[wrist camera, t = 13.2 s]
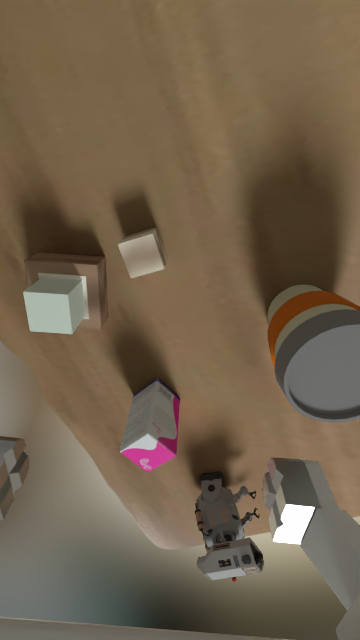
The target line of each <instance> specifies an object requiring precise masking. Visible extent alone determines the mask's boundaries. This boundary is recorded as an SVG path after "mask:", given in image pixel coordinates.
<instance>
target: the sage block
mask: <svg viewBox="0 0 360 640" xmlns="http://www.w3.org/2000/svg"><path fill="white" fill-rule="evenodd" d="M23 293H24V299H25V305H26V310H27V316H28V322H29V327H30V331H35V332H50V333H64V334H73V332H74V331H75V329H76V328H77V327H78V325H79V324H80V322H81V321H82V320H83V318H84V317H85V308H84V296H83V285H82V280H75V279H60V278H45V277H42V278H41V279H40V280H38V281H37V282H36V283H34V284H33V285H31V286H30V287H29V288H27V289H26V290H25V291H23Z"/></svg>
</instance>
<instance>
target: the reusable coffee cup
mask: <svg viewBox="0 0 360 640" xmlns="http://www.w3.org/2000/svg"><path fill="white" fill-rule="evenodd" d="M267 320H268V325H269V328H268V342H269V348H270V353H271V358H272V363H273V365H274V367H275V375H276V379H277V381H278V383H279V385H280V387H281V389H282V391H283V392H284V394H285V396H286V397H287V399H288V401H289V403H290V404H291V405H292V406H293V407H294V408H295V409H296V410H297V411H298V412H300V413H301V414H302V415H304V416H306V417H309V418H311V419H314V420H318V421H322V422H346V421H351V420H355V419H358V418H360V307H359V306H357V305H355V304H354V303H352V302H350V301H348V300H346V299H344V298H343V297H341V296H339V295H337V294H335V293H331V292H328V291H323V290H321V289H319V288H318V287H315V286H312V285H305V284H303V285H296V286H292V287H289V288H287V289H285V290H284V291H282V292H281V293H279V294H278V295H277V296H276V297H275V298H274V300H273V301H272V302H271V304H270V307H269V309H268V314H267Z"/></svg>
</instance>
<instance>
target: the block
mask: <svg viewBox="0 0 360 640" xmlns="http://www.w3.org/2000/svg"><path fill="white" fill-rule="evenodd" d="M118 246H119V249H120V251H121V254H122V257H123V259H124V262H125V264H126V267H127V270H128V272H129V275H130V277H131V278H134V277H138V276H141V275H145V274H148V273H152V272H155V271H159V270H162V269H165V265H166V262H167V257H166V254H165V251H164V248H163V245H162V242H161V239H160V236H159V233H158V230H157V227H155V228H151V229H148V230H145V231H142V232H138V233H135V234H132V235H129V236H125V237H124V238H123V239H122V240H121V241H120V242H119V243H118Z"/></svg>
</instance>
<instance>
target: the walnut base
mask: <svg viewBox="0 0 360 640" xmlns="http://www.w3.org/2000/svg"><path fill="white" fill-rule="evenodd" d="M24 262H25V268H26V274H27V280H28V286H29V287H30V286H31V285H33V284H34V283H36V282H37V281H38V280H40V279H41V278H42V277H45V278H60V279H75V280H82V285H83V296H84V308H85V317H84V318H83V320H82V321H81V322H80V324H79V325H78V327H77V328H84V329H99V330H101V329H102V327H103V325H104V324H105V322H106V320H107V318H108V302H107V282H106V262H105V257H103V256H88V255H73V254H58V253H43V252H38V253H36V254H35V255H33V256H31V257H29V258H27V259H26V260H24Z"/></svg>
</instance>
